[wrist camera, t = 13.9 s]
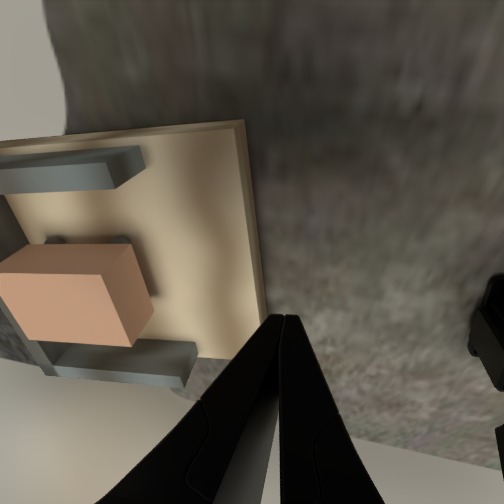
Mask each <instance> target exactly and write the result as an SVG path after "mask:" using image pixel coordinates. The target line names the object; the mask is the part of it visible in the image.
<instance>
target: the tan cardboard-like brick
mask: <svg viewBox="0 0 504 504" xmlns="http://www.w3.org/2000/svg"><path fill="white" fill-rule="evenodd" d="M0 296H1V298H2V299H3V301H4V302H5V304H6V305H7V307H8V309H9V310H10V312H11V313H12V315H13V316H14V318H15V319H16V321H17V322H18V324H19V325H20V327H21V328H22V330H23V332H24V333H25V335H26V336H27V338H28V339H29V340H40V341H54V342H68V343H83V344H97V345H111V346H125V347H132V346H133V344H134V343H135V341H136V339H137V338H138V336H139V335H140V333H141V332H142V330H143V328H144V327H145V325H146V324H147V322H148V321H149V319H150V318H151V316H152V314H153V313H154V308H153V305H152V302H151V299H150V296H149V294H148V291H147V288H146V285H145V282H144V279H143V276H142V274H141V271H140V268H139V265H138V262H137V259H136V256H135V254H134V251H133V248H132V245H131V242H130V241H129V239H127V238H126V237H124V236H117V237H115V238H113V239H112V240H111V242H110V244H65V242H64V240H63V239H61V238H59V237H50V238H48V239H47V240H46V241H45V242H44V244H28V245H26V246H25V247H23V248H22V249H20V250H19V251H17V252H16V253H14V254H13V255H11V256H10V257H8V258H7V259H5V260H4V261H2V262H1V263H0Z"/></svg>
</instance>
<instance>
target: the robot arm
mask: <svg viewBox="0 0 504 504" xmlns="http://www.w3.org/2000/svg"><path fill="white" fill-rule="evenodd" d="M500 283H503V284H502V285H498V284H500ZM497 285H498V286H497ZM469 338H470V342H469V345H468V350H469V352H470V354H471V355H472V356H475V357H479V358H480V360H481V361H482V363H483V365H484V367H485V369H486V371H487V373H488V375H489V377H490V379H491V381H492V383H493V385H494V387H495V388H496V389H497V390H498V391H500V392H504V275H499V276H495V277H493V278H492V279H491V280H490V282H489V284H488V287H487V290H486V293H485V296H484V299H483V302H482V305H481V306H480V307H479V308H478V310H477V313H476V316H475V319H474V322H473V325H472V328H471V331H470V334H469ZM278 411H279V440H280V441H279V442H280V504H385V503H384V501H383V500H382V497H381V496H380V494H379V492H378V490H377V489H376V487H375V485H374V483H373V481H372V480H371V478H370V476H369V474H368V472H367V471H366V469H365V467H364V465H363V463H362V461H361V459H360V457H359V455H358V454H357V451H356V449H355V447H354V445H353V443H352V441H351V438H350V436H349V434H348V432H347V430H346V427H345V425H344V422H343V420H342V418H341V415H340V414H339V411H338V408H337V406H336V404H335V401H334V399H333V396H332V394H331V392H330V389H329V387H328V384H327V382H326V379H325V377H324V375H323V372H322V370H321V367H320V365H319V363H318V360H317V358H316V355H315V353H314V351H313V348H312V346H311V343H310V341H309V338H308V336H307V334H306V331H305V329H304V326H303V324H302V322H301V319H300V317H299V316H298V315H291V314H286V315H285V316H284V315H283V314H270V315H268V317H267V318H266V319H265V320H264V321H263V323H262V324H261V325H260V326H259V327H258V329H257V330H256V331H255V332H254V333H253V335H252V336H251V337H250V338H249V339H248V341H247V342H246V343H245V344H244V345H243V347H242V348H241V349H240V350H239V351H238V353H237V354H236V355H235V356H234V357H233V359H232V360H231V361H230V362H229V363H228V365H227V366H226V367H225V368H224V369H223V371H222V372H221V373H220V374H219V375H218V377H217V378H216V379H215V380H214V381H213V383H212V384H211V385H210V386H209V387H208V389H207V390H206V391H205V392H204V393H203V395H202V396H201V397H200V400H197V402H196V403H195V404H194V405H193V406H192V408H191V409H190V410H189V411H188V412H187V414H186V415H185V416H184V417H183V418H182V419H181V420H180V421H179V423H178V424H177V425H176V426H175V427H174V428H173V429H172V430H171V431H170V432H169V433H168V434H167V435H166V436H165V437H164V438H163V439H162V440H161V441H160V442H159V443H158V445H156V447H154V448H153V449H152V451H151V452H149V453H148V454H147V455H146V456H145V457H144V458H143V459H142V460H141V461H140V462H139V463H138V464H137V465H136V466H135V467H134V468H133V469H132V470H131V471H130V472H129V473H128V474H127V475H126V476H125V477H124V478H123V479H122V480H121V481H120V482H119V483H118V484H117V485H116V486H115V487H114V488H113V489H111V490H110V491H109V492H108V493H107V494H106V495H105V496H104V497H102V498H101V499H100V500H99V501H97V502H96V503H95V504H260V503H261V498H262V493H263V488H264V482H265V478H266V473H267V468H268V462H269V457H270V452H271V447H272V442H273V437H274V432H275V427H276V422H277V417H278ZM495 434H496V440H497V445H498V451H499V457H500V462H501V468H502V474H503V479H504V424H503V425H501V426H499V427H497V428H495Z"/></svg>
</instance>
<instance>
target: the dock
mask: <svg viewBox="0 0 504 504" xmlns="http://www.w3.org/2000/svg"><path fill="white" fill-rule="evenodd" d="M117 236H124V237H126V238H127V239H129V241H130V242H131V245H132V248H133V251H134V254H135V256H136V259H137V262H138V265H139V268H140V271H141V274H142V276H143V279H144V282H145V285H146V288H147V291H148V294H149V296H150V299H151V302H152V305H153V308H154V313H153V314H152V316H151V318H150V319H149V321H148V322H147V324H146V325H145V327H144V328H143V330H142V332H141V333H140V335H139V336H138V338H137V339H136V341H135V343H134V344H133V346H132V347H125V346H111V345H97V344H83V343H68V342H54V341H40V340H29V339H28V338H27V336H26V335H25V333H24V332H23V330H22V328H21V327H20V325H19V324H18V322H17V321H16V319H15V318H14V316H13V315H12V313H11V312H10V310H9V309H8V307H7V305H6V304H5V302H4V301H3V299H2V298H1V296H0V308H1V309H2V311H3V312H4V314H5V315H6V317H7V318H8V320H9V321H10V323H11V324H12V326H13V327H14V329H15V330H16V332H17V333H18V335H19V336H20V338H21V339H22V341H23V342H24V344H25V345H26V347H27V348H28V350H29V351H30V353H31V354H32V356H33V357H34V359H35V360H36V362H37V363H38V365H39V366H40V368H41V369H42V371H43V372H44V373H45V375H48V376H58V377H69V378H79V379H89V380H100V381H111V382H121V383H131V384H142V385H152V386H162V387H172V388H183V389H184V388H185V385H186V383H187V380H188V378H189V375H190V373H191V370H192V368H193V366H194V363H195V361H196V358H197V357H206V358H220V359H233V357H234V356H235V355H236V354H237V353H238V351H239V350H240V349H241V348H242V347H243V345H244V344H245V343H246V342H247V341H248V339H249V338H250V337H251V336H252V335H253V333H254V332H255V331H256V330H257V329H258V327H259V326H260V325H261V324H262V323H263V321H264V320H265V319H266V318H267V308H266V300H265V291H264V282H263V274H262V265H261V257H260V248H259V239H258V231H257V222H256V214H255V205H254V196H253V188H252V179H251V170H250V162H249V153H248V145H247V136H246V127H245V119H239V120H228V121H217V122H206V123H195V124H184V125H173V126H162V127H151V128H140V129H129V130H118V131H107V132H96V133H84V134H73V135H62V136H52V137H40V138H29V139H19V140H9V141H8V140H7V141H0V263H1V262H2V261H4V260H5V259H7V258H8V257H10V256H11V255H13V254H14V253H16V252H17V251H19V250H20V249H22V248H23V247H25V246H26V245H28V244H44V242H45V241H46V240H47V239H48V238H50V237H59V238H61V239H63V240H64V242H65V244H110V242H111V240H112V239H113V238H115V237H117Z"/></svg>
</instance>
